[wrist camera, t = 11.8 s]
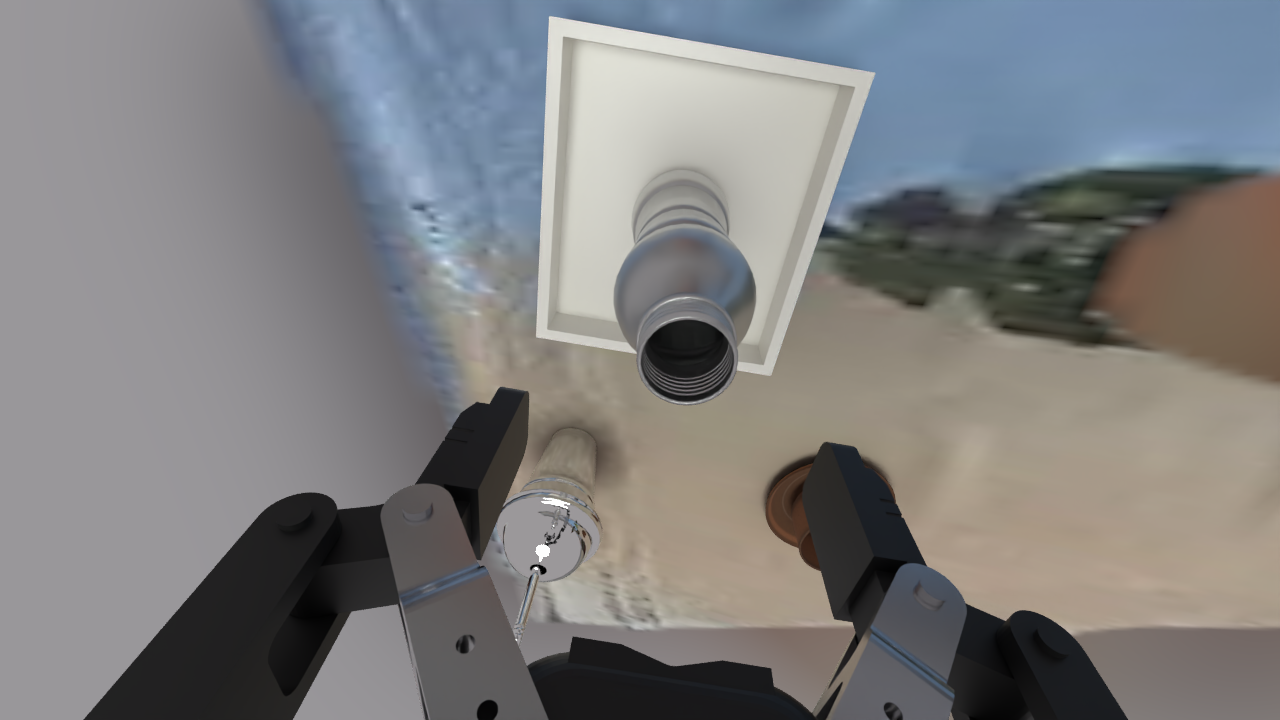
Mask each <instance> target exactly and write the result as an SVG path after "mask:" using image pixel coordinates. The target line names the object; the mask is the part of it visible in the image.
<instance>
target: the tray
mask: <svg viewBox="0 0 1280 720" xmlns="http://www.w3.org/2000/svg"><path fill="white" fill-rule="evenodd" d="M874 76H875V73H873V72H868V71H862V70H856V69H850V68H845V67H839V66H833V65H827V64H822V63H816V62H810V61H804V60H799V59H793V58H787V57H781V56H776V55H770V54H764V53H758V52H753V51H747V50H741V49H735V48H730V47H724V46H718V45H712V44H707V43H701V42H695V41H689V40H684V39H678V38H672V37H666V36H661V35H655V34H649V33H644V32H638V31H632V30H626V29H621V28H615V27H609V26H603V25H598V24H592V23H586V22H580V21H575V20H569V19H563V18H557V17H552V16H549V35H548V59H547V83H546V108H545V132H544V157H543V181H542V206H541V230H540V255H539V279H538V304H537V328H536V337H538V338H544V339H550V340H557V341H563V342H569V343H575V344H581V345H587V346H593V347H599V348H605V349H611V350H617V351H623V352H629V353H635V354H637V352H636V351H635V350H634V349H633V348H632V347H631V346H630V345H629V343H628V342H627V340H626V339H625V337H624V335H623V333H622V331H621V328H620V326H619V323H618V321H617V318H616V315H615V310H614V304H613V296H614V286H615V282H616V278H617V275H618V273H619V270H620V268H621V266H622V264H623V262H624V260H625V257H626V256H627V255H628V253H629V252H630V251H631V249H632V248H633V247H634V245H635V243H634V239H633V233H632V226H631V222H632V212H633V208H634V205H635V202H636V200H637V198H638V196H639V194H640V193H641V192H642V190H643V189H644V187H645V186H646V185H647V184H649V183H650V182H651V181H652V180H653V179H655V178H656V177H658V176H660V175H661V174H664V173H667V172H669V171H673V170H690V171H694V172H697V173H700V174H702V175H704V176H706V177H708V178H709V179H710V180H712V181H713V182H714V183H715V184H716V185H717V186H718V187H719V189H720V190H721V191H722V193H723V194H724V197H725V199H726V201H727V203H728V208H729V212H730V230H729V237H728V238H729V239H730V240H731V241H732V242H733V243H734V244H735V245H736V246H737V247H738V249H739V250H740V251H741V253H742V254H743V255H744V257H745V259H746V260H747V262H748V264H749V266H750V269H751V271H752V273H753V276H754V280H755V285H756V306H755V311H754V315H753V319H752V322H751V324H750V327H749V329H748V332H747V334H746V336H745V337H744V339H743V340H742V342H741V343H740V345H739V346H738V347H737V349H738V365H737V370H738V371H744V372H750V373H756V374H762V375H768V376H771V374H772V371H773V368H774V365H775V362H776V360H777V357H778V354H779V351H780V348H781V345H782V342H783V339H784V336H785V333H786V331H787V328H788V325H789V322H790V319H791V316H792V313H793V310H794V307H795V304H796V302H797V299H798V296H799V293H800V290H801V287H802V284H803V281H804V278H805V275H806V273H807V270H808V267H809V264H810V261H811V258H812V255H813V252H814V249H815V247H816V244H817V241H818V238H819V235H820V232H821V229H822V226H823V223H824V220H825V218H826V215H827V212H828V209H829V206H830V203H831V200H832V197H833V194H834V191H835V189H836V186H837V183H838V180H839V177H840V174H841V171H842V168H843V165H844V162H845V160H846V157H847V154H848V151H849V148H850V145H851V142H852V139H853V136H854V134H855V131H856V128H857V125H858V122H859V119H860V116H861V113H862V110H863V107H864V105H865V102H866V99H867V96H868V93H869V90H870V87H871V84H872V81H873V78H874Z"/></svg>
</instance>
